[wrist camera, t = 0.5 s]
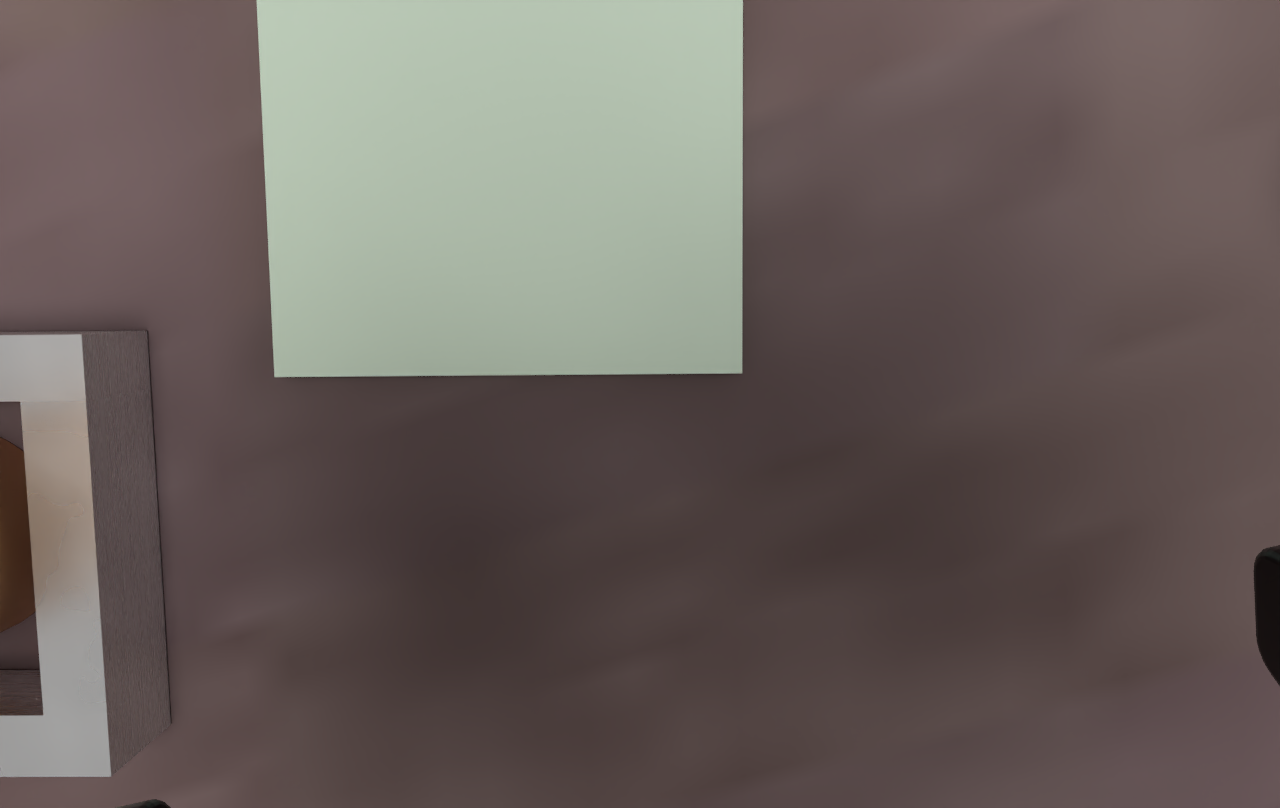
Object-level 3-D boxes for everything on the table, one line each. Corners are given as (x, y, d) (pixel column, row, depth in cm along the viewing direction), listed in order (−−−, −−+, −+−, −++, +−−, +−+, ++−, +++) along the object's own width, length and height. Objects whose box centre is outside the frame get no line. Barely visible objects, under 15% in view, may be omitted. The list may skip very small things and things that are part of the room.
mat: (739, 371, 22) (742, 373, 21) (284, 374, 22) (274, 377, 21) (740, -109, 21) (743, -121, 20) (263, -101, 21) (251, -113, 20)
